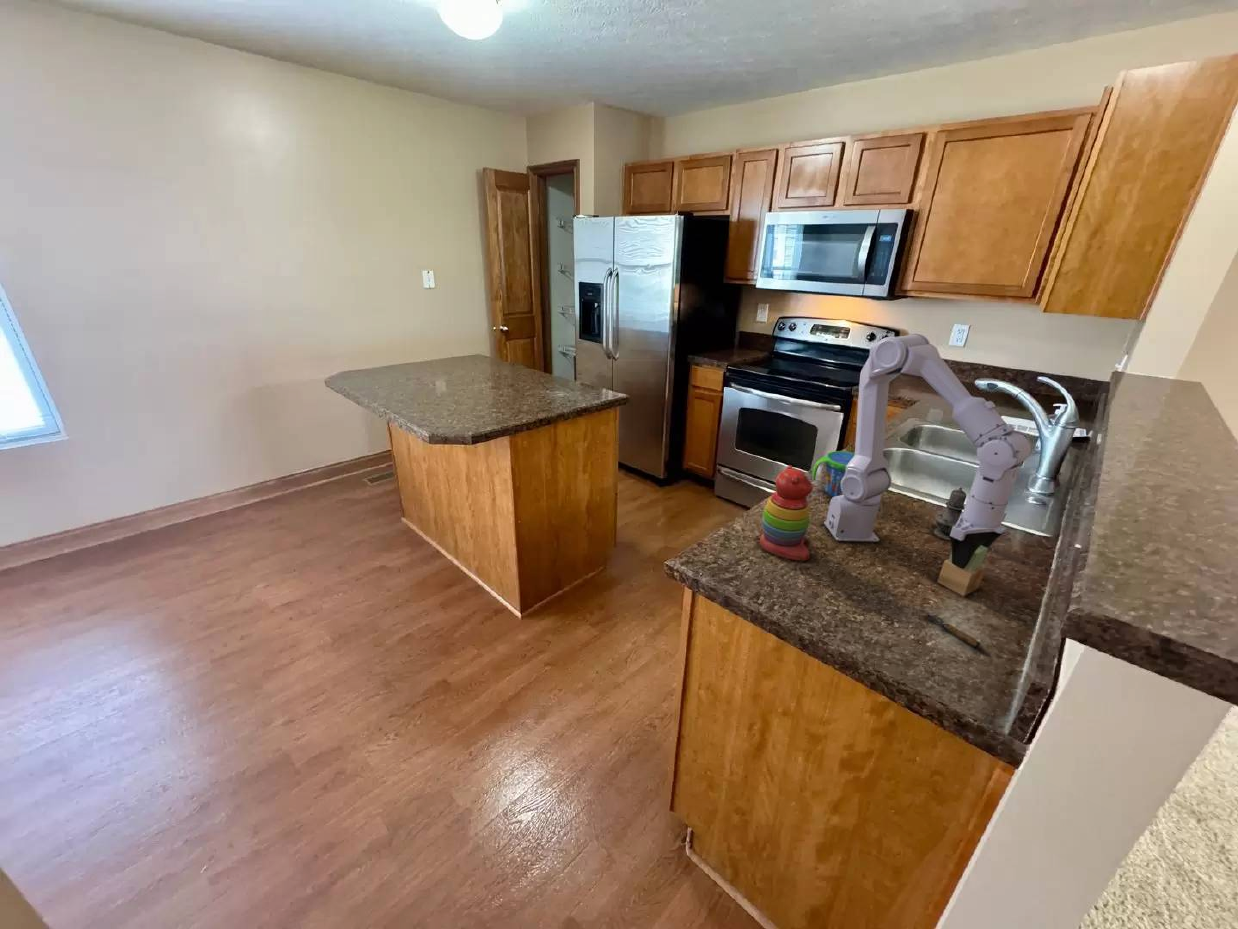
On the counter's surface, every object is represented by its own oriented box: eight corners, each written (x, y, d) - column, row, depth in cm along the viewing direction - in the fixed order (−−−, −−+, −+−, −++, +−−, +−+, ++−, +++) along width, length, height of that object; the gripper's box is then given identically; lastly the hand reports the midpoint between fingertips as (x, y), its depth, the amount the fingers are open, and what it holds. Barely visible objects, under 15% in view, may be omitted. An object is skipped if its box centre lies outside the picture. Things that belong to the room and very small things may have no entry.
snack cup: (869, 489, 137) (878, 454, 132) (876, 507, 127) (885, 470, 123) (808, 481, 140) (814, 447, 136) (809, 498, 131) (817, 462, 127)
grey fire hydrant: (959, 544, 112) (975, 495, 108) (929, 535, 116) (943, 487, 111) (962, 533, 117) (978, 486, 112) (933, 525, 120) (947, 478, 115)
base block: (963, 596, 96) (971, 574, 94) (937, 582, 100) (944, 560, 98) (977, 588, 98) (986, 566, 96) (951, 574, 102) (958, 553, 100)
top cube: (970, 572, 94) (976, 553, 93) (948, 561, 97) (954, 543, 96) (981, 566, 96) (988, 548, 94) (959, 555, 99) (966, 538, 98)
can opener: (979, 647, 83) (982, 642, 83) (970, 651, 82) (972, 645, 82) (929, 613, 91) (931, 608, 90) (920, 616, 90) (922, 611, 90)
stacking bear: (810, 562, 105) (826, 484, 97) (759, 556, 106) (771, 478, 99) (804, 535, 114) (818, 462, 107) (757, 530, 116) (768, 457, 109)
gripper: (990, 517, 85) (966, 584, 90) (1033, 498, 91) (1008, 562, 97) (947, 499, 90) (927, 564, 96) (991, 483, 97) (969, 544, 102)
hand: (965, 561), depth 97 cm, fingers open, 4 cm apart
